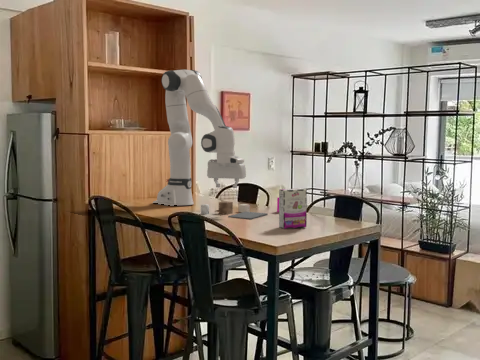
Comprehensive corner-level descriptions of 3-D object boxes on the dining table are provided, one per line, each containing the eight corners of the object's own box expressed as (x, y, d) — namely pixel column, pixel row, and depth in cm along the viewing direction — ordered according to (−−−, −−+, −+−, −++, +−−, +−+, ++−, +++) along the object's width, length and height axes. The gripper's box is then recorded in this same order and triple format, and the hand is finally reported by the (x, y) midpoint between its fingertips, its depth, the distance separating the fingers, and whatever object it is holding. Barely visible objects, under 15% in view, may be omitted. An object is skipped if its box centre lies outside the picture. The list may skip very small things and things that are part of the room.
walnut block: (218, 214, 266) (218, 202, 266) (223, 213, 271) (223, 201, 270) (227, 215, 264) (227, 203, 264) (232, 214, 269) (232, 201, 268)
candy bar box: (300, 225, 236) (301, 188, 235) (306, 227, 231) (307, 189, 230) (277, 227, 232) (278, 188, 230) (283, 229, 227) (284, 190, 226)
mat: (228, 217, 255) (228, 216, 255) (245, 213, 271) (245, 211, 271) (250, 220, 250) (250, 218, 250) (267, 215, 266) (267, 213, 266)
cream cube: (238, 212, 274) (238, 204, 274) (243, 211, 277) (243, 204, 276) (244, 213, 271) (244, 205, 271) (249, 212, 274) (249, 204, 274)
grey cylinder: (199, 215, 263) (199, 205, 263) (203, 214, 266) (203, 204, 266) (206, 215, 261) (206, 205, 261) (210, 214, 265) (210, 204, 264)
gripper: (204, 159, 267) (205, 187, 268) (240, 159, 257) (241, 188, 258) (211, 159, 273) (211, 186, 274) (247, 159, 263) (247, 187, 264)
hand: (226, 187), depth 266 cm, fingers open, 8 cm apart
